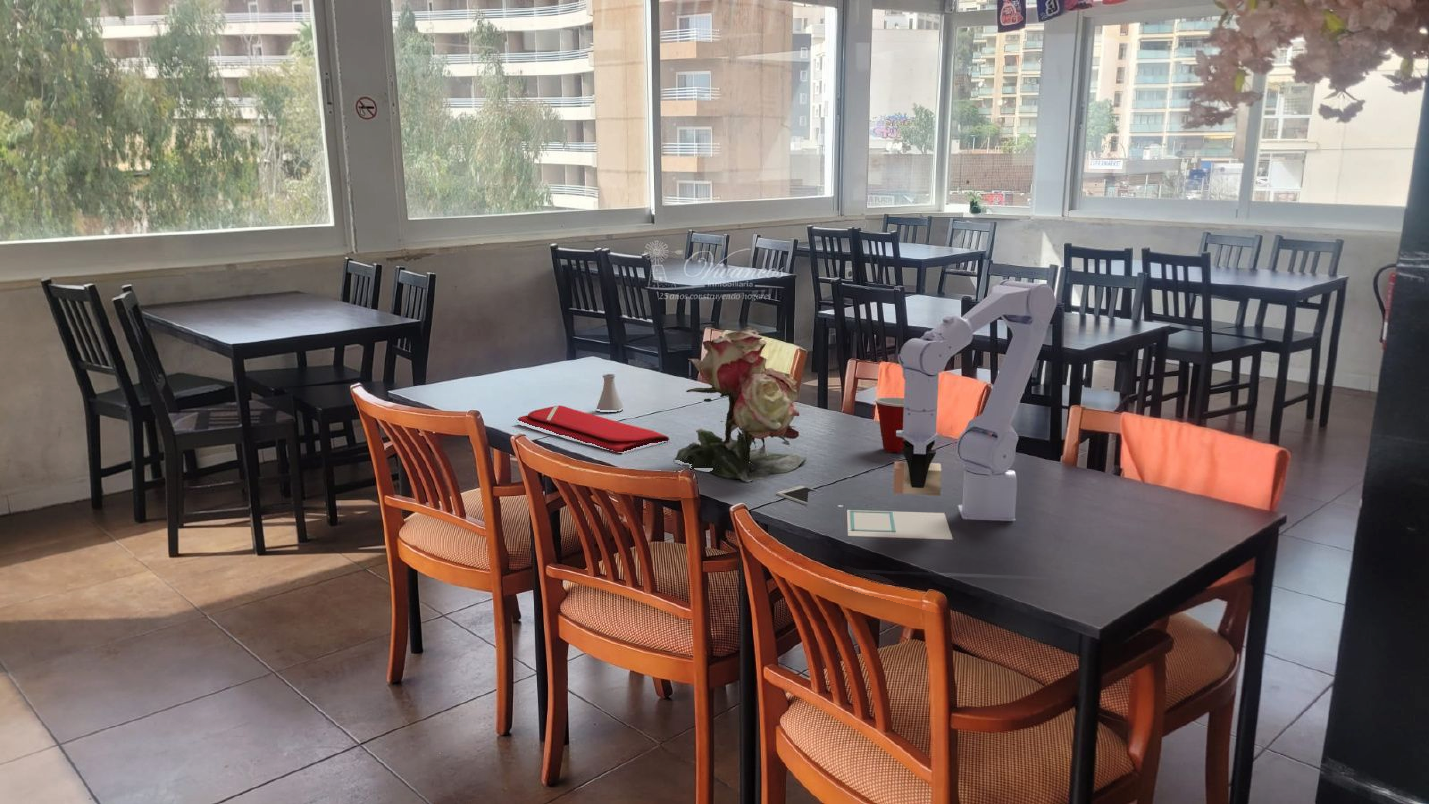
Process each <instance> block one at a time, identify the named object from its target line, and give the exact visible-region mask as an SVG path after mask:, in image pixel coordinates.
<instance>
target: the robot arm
mask: <svg viewBox="0 0 1429 804" xmlns="http://www.w3.org/2000/svg"><path fill="white" fill-rule="evenodd" d="M1057 305H1058V303H1057V299H1056V295H1055V293H1054V290H1053V288H1052V286H1050V285H1049V284H1047V283H1043V282H1042V283H1040V282H1039V283H1036V282H1035V283H1034V282H1027V281H1026V282H1025V281H1019V280H1018V281H1016V280H1012V279H1009V278H1008V279H1006V278H1005V279H1003V280H1001V281H999V283H998V284H996V285H994V286H992V287H991V288H990V293H989V294H988V295H987V296H986V297H985V298H984V299H982V300H981V301H980V302H978V303H977V304H975V306H973V307H972V308H971V309H969V311H967V312H966V313H965V314H964V315H962V316H961V317H960V316H956V315H953V316H950V315H949V316H948V315H947V316H946V317H944V318H942V322H941V323H940V324H938V325H936V326H935V327H934V328H932V329H931V330H926V332H924V334H923V335H922V336H921V337H920V338H918V337H915V338H911V339H908V340H907V341H906V342H905V343H904V344H903V346H902V347H901V349H900V352H899V354H898V355H897V361H898V363H899V366H900V367H901V369H902V378H903V379H904V391H903V393H904V395H903V398H904V415H903V430H897V431H896V436H897V437H903V438H904V439H903V444H904V446H905V447H903V453H902V454H903V456H904V458H905V460H906V461H905V462H907V464H908V468H909V475H910V483H911V487H912V488H924V485H925V482H926V478H927V473H928V469H929V466H930V464H931V463H932V461H933V460H934V458H935V456H936V454H937V450H936V449H933V448H934V447H933V446H934V445H935V443H936V439H938V432H937V425H938V423H937V421H938V418H937V417H938V403H939V402H938V398H939V397H938V396H939V377H940V374H941V373H942V372H944V370H945V368H946V367H947V363H948V362H949V360H951V358H952V357H953V356H954V355H955V354H957V353H959V352H960V351H961V350H962V349H964V348H965V347H967V346H968V345H970V344H971V343H972V341H973V337H974V333H976V332H977V331H979V330H981V329H982V328H984V327H986V326H987V325H989V324H990V323H992V322H994V321H996V320H997V319H999V318H1000V317H1001V320H1002V321H1003V322H1004V324H1005V325H1006V327H1008V328H1009V329H1010V332H1011V334H1012V338H1011V339H1010V340H1011V341H1010V343H1009V345H1008V348H1007V350H1006V353H1005V355H1004V358H1003V361H1002V363H1001V366H1000V367H999V370H998V373H997V375H996V378H995V380H994V383H993V386H992V388H991V391H990V393H989V396H988V399H987V401H986V403H985V407H984V409H983V411H982V413H981V414H979V415H978V416H975V417H974V418H972V419H970V420H969V421H968V423H967V425H966V427H965V429H964V430H963V432H961V434H960V435H959V436H958V438H957V441H956V444H955V452H956V455H957V456H956V457H957V458H958V459H959V460H960V461H961V467H963V468H964V469H963V485H962V486H963V487H962V503H961V504H958V505H957V508H958V511H959V514H960V516H961V519H963V520H975V521H978V520H979V521H1004V522H1005V521H1009V522H1015V521H1016V506H1017V505H1016V503H1017V486H1018V485H1017V484H1018V482H1017V481H1018V480H1017V474H1016V471H1015V470H1013V469H1010V468H1011V467H1012V466H1013V464H1014V460H1015V458H1016V449H1017V448H1016V447H1017V444H1018V441H1019V439H1020V438H1019V435H1018V434H1017V432H1016V431H1015V429H1014V428H1013V426H1012V422H1013V419H1014V418H1015V416H1016V412H1017V409H1018V407H1019V404H1020V403H1021V399H1022V397H1023V395H1024V393H1025V389H1026V387H1027V384H1028V381H1029V380H1030V377H1031V374H1032V372H1033V369H1034V367H1035V365H1036V363H1037V359H1038V356H1039V354H1040V352H1041V349H1042V346H1043V344H1044V341H1045V339H1046V335H1047V332H1048V331H1047V330H1048V327H1049V326H1050V323H1051V320H1052V318H1053V315H1054V313H1055V310H1056V307H1057Z"/></svg>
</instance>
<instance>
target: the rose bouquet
mask: <svg viewBox="0 0 1429 804" xmlns="http://www.w3.org/2000/svg"><path fill="white" fill-rule="evenodd" d="M740 330H741V331H735V330H734V329H732V331H731V332H729V333H725V334H724V336H722V335H719V336H718V338H715V339H714V338H713V339H712V340H704V341H702V344H703V350H706V352H707V353H705V356H704V357H703V358H702V360H700V359H699V358H687V359H688V361H690V362H692V364H693V365H694V367H695V368H696V370H697V372H698V373H699V374H700V376H701V377H702V378H703V379H704V381H706V383H708V384H709V385H710V386H711V387H694V388H688V389H687V390H685V392H686V393H692V392H693V393H701V394H702V393H703V394H716V393H718V394H720V395H719V397H720V398H723V397H728V411H727V413H726V420H725V425H724V426H725V433H724V434H725V438H724V439H725V440H723V438H721V437H719V436H717V435H716V434H715V433H714V432H713V431H712V430H707V429H704V428H698V429H697V430H695V432H696V433H697V437H698V438H697V441H699V442H700V444H699V443H696V442H692V443H690V444H689V445H687V446H685V447H683V448H681V449H678V451H677V454H676V457H675V458H674V459H675V460H680V461H682V462H684V463H689V464H692V465H691V466H692V467H691V468H692V469H691V470H693V469H694V468H713V470H712V471H710V473H711V474H714V475H717V476H719V477H722V478H727V479H731V480H741V481H743V482H746V483H751V482H754V481H758V480H761V479H762V480H763V481H765V482H767V481H768V480H766V478H767V477H768V476H769V474H775V473H776V474H778V473H779V474H781V473H782V474H783V473H784V474H785V473H789V472H791V471H793V470H795V469H797V468H798V467H799V466H800V465H801V464H802V463H803V462H804V461H805V460H806V459H807V456H802V457H801V456H798V455H795V454H793V453H790V454H783V453H775V452H769V451H768V450H766V444H765V439H766V438H768V437H770V438H771V439H772V438H775V437H776V438H779V439H781V440H783V441H782V442H781V443H782V444H783V445H786V446H790V445H791V443H790V441H789V440H787V439H790V440H794V439H797V438H798V437H799V436H800V432H799V431H798V430H797V429H796V426H794V425H791V423H792V421H793V420H794V418H795V417H799V416H800V413H799V410H798V408H797V406H796V405H795V404H794V403H796V402H797V401H798V399H799V398H798V395H799V393H798V391H797V387H796V385H797V380H796V381H795V379H794V378H793V377H792V376H791V375H790V373H787V372H783V371H779V370H775V369H774V368H773V367H768V368H766V363H767V361H768V359H767V358H765V357H764V356H763V355H761V354H762V352H763V350H764V348H765V347H766V345H767V343H768V342H767V341H766V340H762V339H763V337H762V336H760V335H759V332H757V331H758V330H757V329H756V328H754V327H753V328H752V327H750V326H747V327H744V328H741V329H740ZM702 400H703V402H705V403H706V402H707V403H711V402H712V398H710V397H709V398H704V399H702ZM669 416H670V415H669ZM720 423H724V421H723V420H721V421H720ZM734 430H737V433H738V434H737V436H736V438H737V439H733V438H732V433H733V431H734ZM785 438H786V439H785ZM755 440H761V442H762V446H761V447H760V448H758V449H756V448H757V446H756V444H757V442H756V441H755ZM752 443H753V445H754V448H755V449H753V450H752V449H751V445H752ZM749 462H750V463H749ZM751 463H752V464H751ZM751 465H752V466H754V468H755V469H753V468H752V469H753V470H752V469H751V470H750V468H751ZM685 468H686V469H688V468H689V466H688V467H686V466H685ZM750 472H751V473H750ZM710 473H709V474H710ZM759 478H761V479H759Z"/></svg>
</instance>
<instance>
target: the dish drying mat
mask: <svg viewBox="0 0 1429 804" xmlns="http://www.w3.org/2000/svg"><path fill="white" fill-rule="evenodd" d="M517 420H519V421H522V422H524V423H527V424H529V425H532V426H535V427H540V428H543V429H546V430H549V431H552V432H554V433H556V434H559V435H565V436H569V437H572V438H574V439H577V440H580V441H583V442H585V443H592V444H595V445H597V446H600V447H603V448H606V449H609V450H613V451H615V452H624V451H627V450H631V449H633V448H636V447H640V446H643V445H647V444H649V443H658V442H662V441H668V440H669V441H670V438H669V437H670V436H667V435H665V434H662V433H661V432H660V433H659V432H657V431H655V430H651V429H647V428H642V427H639V426H635V425H632V424H627V423H624V422H623V423H622V422H619V421H616V420H612V419H609V418H607V417H606V418H605V417H603V416H599V415H595V414H592V413H589V412H588V413H587V412H584V411H581V410H577V409H574V408H571V407H567V406H565V405H554V406H549V407H544V408H540V409H535V410H532V411H529V413H528V414H527V415H523V416H520V417H517ZM669 441H668V442H669ZM615 452H614V453H615Z"/></svg>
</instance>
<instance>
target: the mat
mask: <svg viewBox="0 0 1429 804" xmlns="http://www.w3.org/2000/svg"><path fill="white" fill-rule="evenodd" d="M846 518H847V519H846V520H847V521H846V522H847V536H848V537H869V538H892V539H893V538H897V539H921V540H922V539H923V540H952V541H953V539H954V538H953V536H952V532H951V530H950V526H949V523H948V520H947V517H946V514H945V512H925V511H923V512H922V511H919V512H918V511H895V510H894V511H893V510H892V511H891V510H890V511H889V510H866V509H865V510H860V509H858V510H857V509H855V510H854V509H847V510H846Z"/></svg>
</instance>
